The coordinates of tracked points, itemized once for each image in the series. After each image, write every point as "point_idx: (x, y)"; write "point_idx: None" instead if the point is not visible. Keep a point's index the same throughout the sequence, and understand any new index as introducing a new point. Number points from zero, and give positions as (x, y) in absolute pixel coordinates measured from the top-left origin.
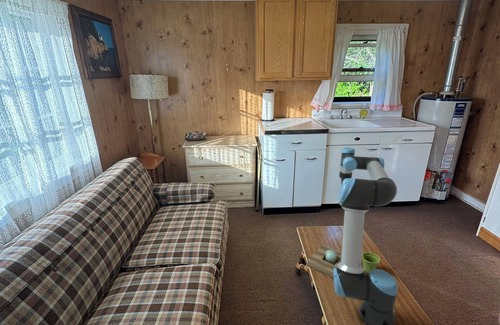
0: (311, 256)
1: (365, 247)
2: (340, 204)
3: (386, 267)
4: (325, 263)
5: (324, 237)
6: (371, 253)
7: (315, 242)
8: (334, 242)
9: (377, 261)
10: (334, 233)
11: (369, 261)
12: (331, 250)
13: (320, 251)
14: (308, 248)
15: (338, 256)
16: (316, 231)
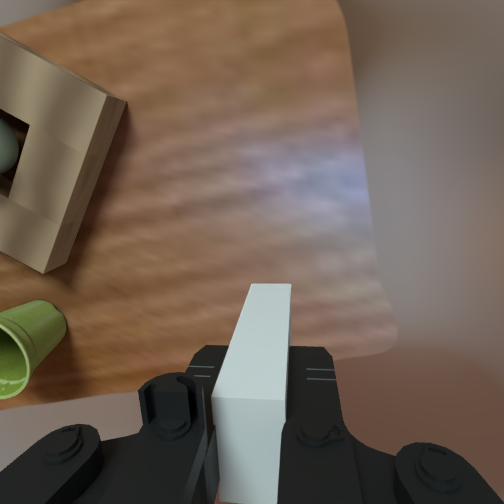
0: None
1: (210, 344)
2: (250, 292)
3: (85, 394)
4: None
5: (258, 118)
6: (28, 370)
7: (186, 52)
8: (216, 182)
9: (12, 378)
10: (320, 191)
11: (52, 339)
12: None
13: (24, 77)
14: (108, 4)
15: (18, 189)
16: (326, 57)
